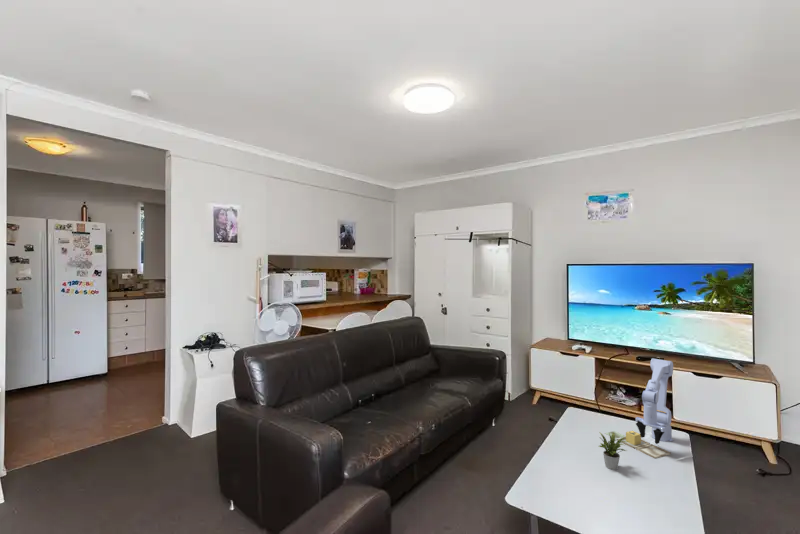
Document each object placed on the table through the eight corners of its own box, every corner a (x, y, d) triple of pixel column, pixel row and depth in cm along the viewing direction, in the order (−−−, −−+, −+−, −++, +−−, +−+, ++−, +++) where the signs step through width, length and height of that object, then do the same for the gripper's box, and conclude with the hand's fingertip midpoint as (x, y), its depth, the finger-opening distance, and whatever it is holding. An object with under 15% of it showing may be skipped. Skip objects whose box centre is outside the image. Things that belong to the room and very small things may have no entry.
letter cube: (632, 439, 213) (632, 430, 213) (641, 443, 208) (641, 434, 208) (625, 441, 211) (625, 431, 211) (634, 445, 207) (634, 435, 206)
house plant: (635, 478, 177) (635, 442, 176) (602, 474, 179) (602, 439, 179) (623, 462, 191) (624, 429, 190) (593, 459, 193) (593, 426, 193)
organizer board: (618, 430, 226) (618, 428, 226) (672, 455, 197) (672, 452, 197) (601, 434, 221) (601, 432, 221) (655, 460, 192) (655, 457, 192)
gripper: (631, 410, 206) (631, 435, 207) (658, 420, 193) (658, 447, 193) (640, 408, 209) (640, 433, 209) (668, 418, 196) (668, 445, 196)
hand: (649, 440), depth 201 cm, fingers open, 7 cm apart
